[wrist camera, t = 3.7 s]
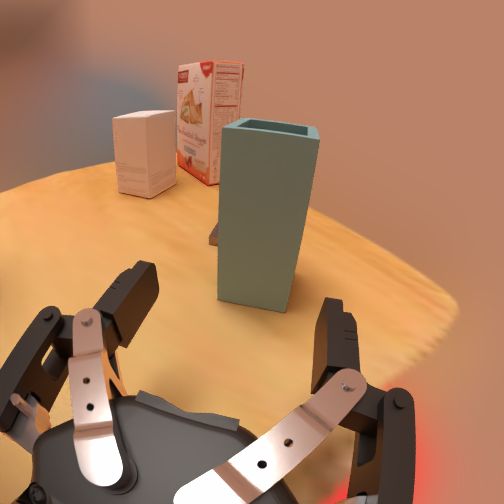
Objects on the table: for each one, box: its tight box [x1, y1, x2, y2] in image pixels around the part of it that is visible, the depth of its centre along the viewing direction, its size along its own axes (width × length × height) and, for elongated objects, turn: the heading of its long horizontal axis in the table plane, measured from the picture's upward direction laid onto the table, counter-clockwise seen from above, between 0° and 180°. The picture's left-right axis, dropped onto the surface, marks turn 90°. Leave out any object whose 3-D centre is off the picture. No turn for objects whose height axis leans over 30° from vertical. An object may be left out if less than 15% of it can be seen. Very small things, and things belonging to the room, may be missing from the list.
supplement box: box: [112, 111, 176, 198], centre depth 39 cm, size 7×7×13 cm
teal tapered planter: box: [218, 118, 320, 313], centre depth 21 cm, size 6×6×14 cm
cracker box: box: [177, 60, 244, 186], centre depth 44 cm, size 14×6×21 cm, turn 35°
